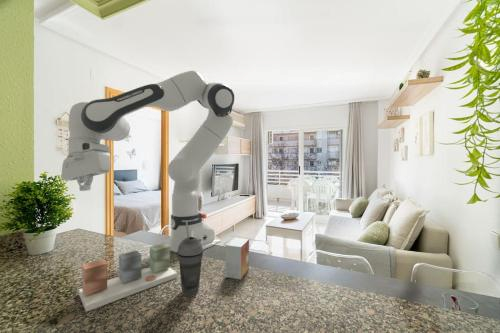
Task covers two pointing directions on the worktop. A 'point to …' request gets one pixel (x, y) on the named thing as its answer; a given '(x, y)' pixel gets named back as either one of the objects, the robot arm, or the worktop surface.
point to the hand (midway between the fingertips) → (85, 190)
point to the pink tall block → (94, 276)
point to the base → (125, 287)
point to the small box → (236, 258)
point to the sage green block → (159, 257)
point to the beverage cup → (190, 264)
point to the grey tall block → (129, 266)
